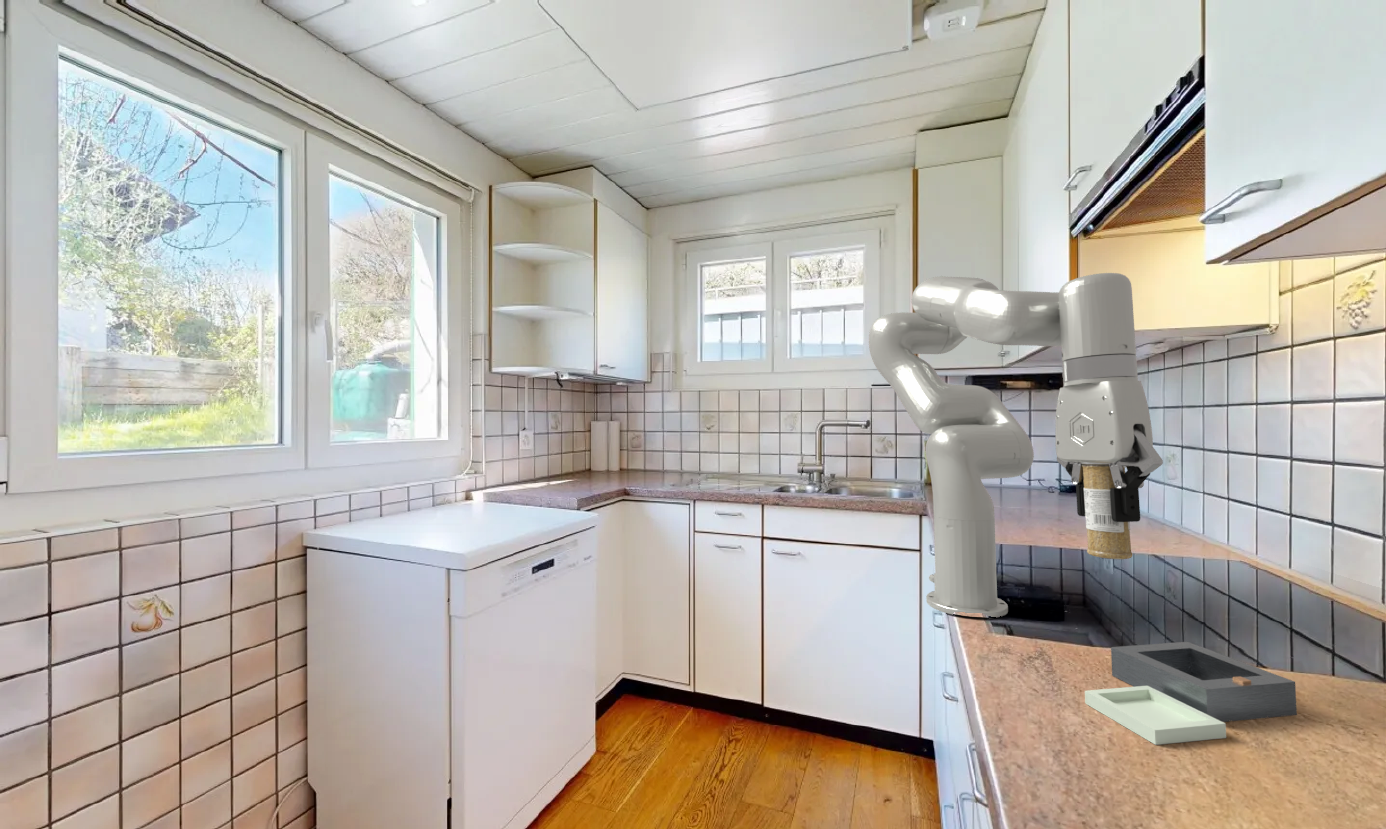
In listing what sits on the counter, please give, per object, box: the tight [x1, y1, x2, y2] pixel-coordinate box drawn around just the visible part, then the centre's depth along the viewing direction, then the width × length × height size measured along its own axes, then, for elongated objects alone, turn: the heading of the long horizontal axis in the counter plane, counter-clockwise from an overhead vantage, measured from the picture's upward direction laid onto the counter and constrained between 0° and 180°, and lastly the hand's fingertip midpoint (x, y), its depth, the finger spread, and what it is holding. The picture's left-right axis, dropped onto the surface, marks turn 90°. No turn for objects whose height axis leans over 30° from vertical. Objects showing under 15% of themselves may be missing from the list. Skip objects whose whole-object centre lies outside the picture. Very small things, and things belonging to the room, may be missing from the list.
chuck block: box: [1110, 641, 1298, 723], centre depth 62 cm, size 11×11×4 cm
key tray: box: [1084, 686, 1227, 745], centre depth 56 cm, size 8×8×1 cm
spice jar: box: [1081, 457, 1133, 560], centre depth 67 cm, size 5×5×14 cm
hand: (1107, 517), depth 67 cm, fingers closed on spice jar, 4 cm apart
